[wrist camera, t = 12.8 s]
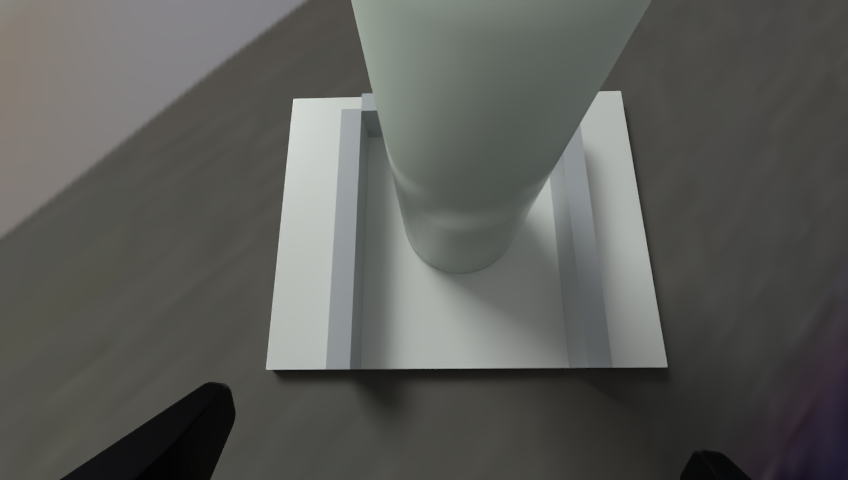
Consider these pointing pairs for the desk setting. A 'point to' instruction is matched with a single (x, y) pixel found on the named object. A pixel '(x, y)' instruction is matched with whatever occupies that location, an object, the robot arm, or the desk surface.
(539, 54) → the domed peg
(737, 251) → the desk surface
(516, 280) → the white railed tray
